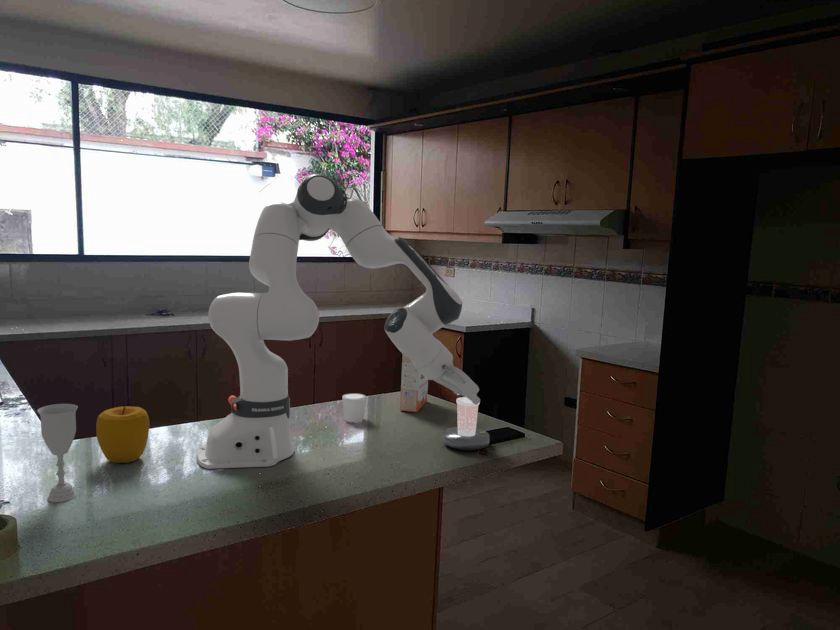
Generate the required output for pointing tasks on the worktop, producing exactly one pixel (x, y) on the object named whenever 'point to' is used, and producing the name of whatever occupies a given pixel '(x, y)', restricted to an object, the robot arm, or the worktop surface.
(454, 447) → the turntable
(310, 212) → the robot arm
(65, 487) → the chalice
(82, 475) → the worktop surface
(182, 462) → the worktop surface
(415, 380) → the cracker box
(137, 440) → the apple
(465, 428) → the beverage cup
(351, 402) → the white short cylinder
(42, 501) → the worktop surface
